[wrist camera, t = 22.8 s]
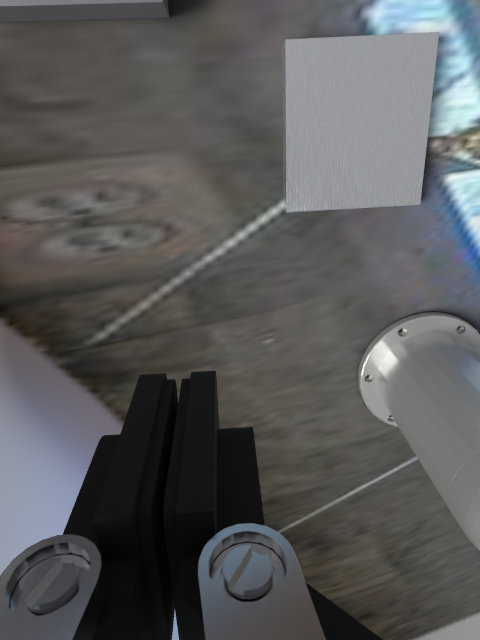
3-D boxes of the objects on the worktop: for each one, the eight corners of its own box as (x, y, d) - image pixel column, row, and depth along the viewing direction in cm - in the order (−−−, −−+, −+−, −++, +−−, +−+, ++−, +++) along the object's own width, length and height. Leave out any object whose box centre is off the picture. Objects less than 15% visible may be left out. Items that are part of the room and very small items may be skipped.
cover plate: (281, 44, 33) (427, 37, 33) (283, 208, 37) (410, 201, 38) (285, 39, 31) (439, 32, 31) (286, 212, 36) (420, 204, 36)
